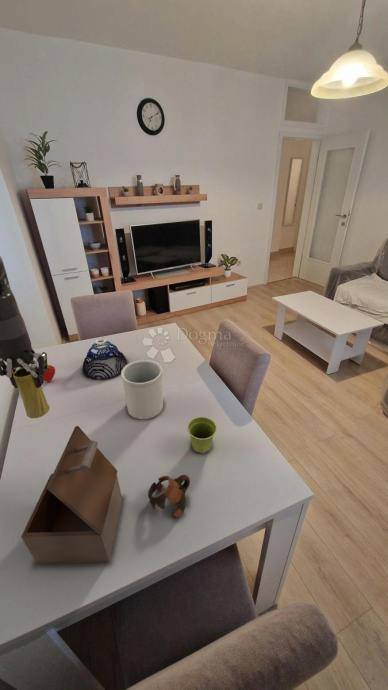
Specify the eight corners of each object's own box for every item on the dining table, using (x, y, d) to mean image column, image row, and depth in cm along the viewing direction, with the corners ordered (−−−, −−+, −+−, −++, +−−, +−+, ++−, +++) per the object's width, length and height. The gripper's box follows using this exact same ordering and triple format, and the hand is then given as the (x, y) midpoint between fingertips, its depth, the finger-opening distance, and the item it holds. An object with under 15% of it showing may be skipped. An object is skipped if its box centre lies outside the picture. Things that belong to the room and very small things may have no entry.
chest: (36, 563, 63) (20, 536, 57) (62, 500, 76) (51, 473, 70) (109, 561, 64) (100, 535, 58) (122, 499, 76) (116, 472, 70)
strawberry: (38, 382, 122) (31, 363, 117) (55, 375, 126) (50, 357, 121) (42, 388, 118) (35, 369, 113) (60, 381, 122) (54, 362, 117)
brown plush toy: (170, 530, 70) (153, 508, 68) (155, 512, 78) (139, 492, 76) (203, 492, 75) (188, 471, 73) (185, 479, 83) (171, 459, 81)
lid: (46, 488, 49) (72, 480, 48) (75, 426, 62) (96, 419, 61) (98, 534, 58) (122, 528, 57) (114, 471, 70) (134, 466, 69)
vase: (22, 417, 79) (5, 377, 72) (35, 403, 84) (21, 364, 77) (41, 420, 78) (26, 379, 71) (54, 405, 84) (41, 366, 76)
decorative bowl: (92, 355, 141) (86, 330, 134) (131, 356, 140) (127, 331, 133) (76, 379, 124) (69, 351, 116) (120, 380, 123) (116, 352, 116)
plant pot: (221, 450, 90) (222, 431, 86) (196, 462, 86) (196, 443, 82) (206, 431, 98) (206, 413, 93) (182, 441, 93) (182, 423, 89)
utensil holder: (172, 403, 110) (170, 367, 101) (147, 427, 99) (142, 388, 90) (144, 390, 117) (140, 355, 108) (118, 411, 106) (111, 374, 97)
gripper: (45, 325, 72) (60, 377, 80) (-11, 325, 71) (10, 378, 80) (31, 338, 65) (49, 394, 74) (-31, 339, 65) (-6, 395, 73)
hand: (29, 385), depth 77 cm, fingers closed on vase, 5 cm apart
